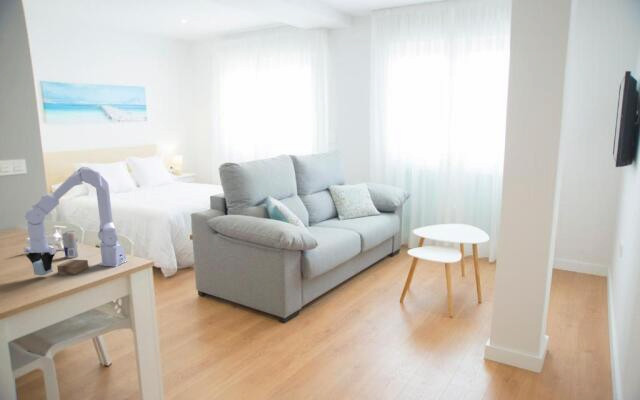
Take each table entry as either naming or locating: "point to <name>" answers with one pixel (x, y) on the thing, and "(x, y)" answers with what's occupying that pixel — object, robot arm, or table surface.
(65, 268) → the walnut block
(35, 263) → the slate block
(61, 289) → the table surface
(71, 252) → the energy drink
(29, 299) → the table surface
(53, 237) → the person figurine
